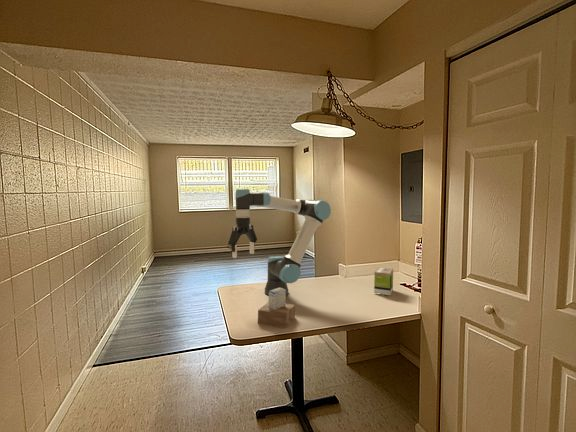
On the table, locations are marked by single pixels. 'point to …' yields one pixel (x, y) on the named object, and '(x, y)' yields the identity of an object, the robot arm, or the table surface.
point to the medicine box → (277, 298)
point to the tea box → (383, 281)
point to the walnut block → (276, 315)
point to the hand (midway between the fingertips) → (243, 255)
